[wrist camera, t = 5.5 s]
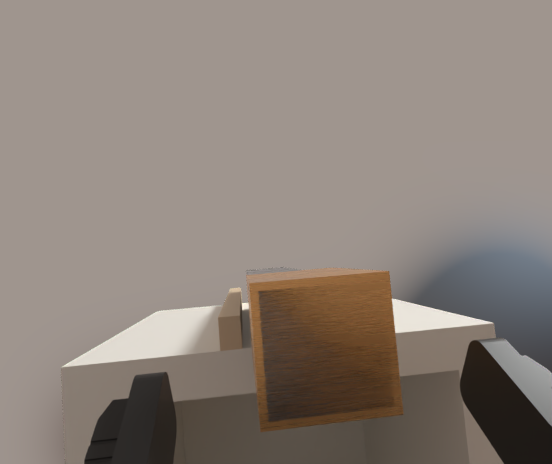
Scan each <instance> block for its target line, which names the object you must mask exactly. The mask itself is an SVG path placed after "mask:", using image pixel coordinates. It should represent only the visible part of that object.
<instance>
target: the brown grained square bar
mask: <svg viewBox="0 0 552 464" xmlns="http://www.w3.org/2000/svg"><path fill="white" fill-rule="evenodd" d="M246 277H247V291H248V304H249V317H250V331H251V344H252V357H253V368H254V377H255V387H256V396H257V405H258V414H259V423H260V432H266V431H275V430H283V429H291V428H299V427H308V426H316V425H324V424H332V423H340V422H349V421H357V420H365V419H373V418H381V417H390V416H398V415H404V414H403V404H402V394H401V384H400V374H399V364H398V354H397V345H396V335H395V325H394V315H393V305H392V295H391V286H390V275H389V271H379V270H363V269H346V268H324V269H312V270H298V269H291V268H283V267H281V268H269V269H257V270H247V275H246Z"/></svg>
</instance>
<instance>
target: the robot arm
mask: <svg viewBox="0 0 552 464" xmlns="http://www.w3.org/2000/svg"><path fill="white" fill-rule="evenodd" d="M460 392H461V396H462V399H463V401H464V403H465V405H466V407H467V408H468V410H469V411H470V413H471V414H472V416H473V418H474V419H475V421H476V422H477V424H478V425H479V427H480V428H481V430H482V431H483V433H484V434H485V436H486V437H487V439H488V440H489V442H490V443H491V445H492V446H493V448H494V449H495V451H496V452H497V454H498V456H499V457H500V459H501V460H502V462H503V463H504V464H552V373H551V372H550V371H549V370H548V369H546V368H545V367H543V366H542V365H540V364H539V363H537V362H536V361H534V360H532V359H531V358H529V357H528V356H526V355H524V356H521V355H520V354H519V353H518V352H517V351H516V350H515V349H514V348H513V347H512V346H511V345H510V343H509V342H508V341H506V340H505V339H503V338H490V339H480V340H473V341H471V342H470V344H469V346H468V350H467V354H466V358H465V362H464V366H463V370H462V375H461V379H460ZM176 432H177V424H176V413H175V407H174V402H173V397H172V392H171V387H170V382H169V377H168V374H167V372H158V373H149V374H139V375H135V377H134V379H133V382H132V386H131V390H130V393H129V397H128V398H126V399H117V400H112V402H111V403H110V404H109V406H108V407H107V408H106V409H105V411H104V412H103V413H102V415H101V416H100V417H99V418H98V420H97V423H96V426H95V429H94V432H93V435H92V438H91V441H90V442H91V444H90V446H89V447H88V450H87V453H86V456H85V459H84V464H173V461H174V452H175V444H176Z"/></svg>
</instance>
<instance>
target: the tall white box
mask: <svg viewBox="0 0 552 464" xmlns="http://www.w3.org/2000/svg"><path fill="white" fill-rule="evenodd" d="M392 305H393V315H394V325H395V335H396V345H397V354H398V364H399V374H400V384H401V394H402V404H403V414H404V415H398V416H390V417H381V418H373V419H365V420H357V421H349V422H340V423H332V424H324V425H316V426H308V427H299V428H291V429H283V430H275V431H266V432H260V423H259V414H258V405H257V396H256V387H255V377H254V368H253V357H252V344H251V331H250V317H249V304H248V303H242V296H241V288H231V289H230V291H229V293H228V295H227V298H226V300H225V302H224V305H219V306H209V307H197V308H186V309H175V310H164V311H157V312H156V313H154V314H152V315H150V316H149V317H147V318H145V319H143V320H142V321H140V322H138V323H136V324H135V325H133V326H131V327H130V328H128V329H126V330H124V331H123V332H121V333H119V334H117V335H116V336H114V337H112V338H111V339H109V340H107V341H105V342H104V343H102V344H100V345H98V346H97V347H95V348H93V349H92V350H90V351H88V352H87V353H85V354H83V355H81V356H80V357H78V358H76V359H74V360H73V361H71V362H69V363H67V364H66V365H64V366H62V367H61V381H62V404H63V427H64V450H65V464H84V459H85V456H86V453H87V450H88V447H89V446H90V444H91V442H90V441H91V438H92V435H93V432H94V429H95V426H96V423H97V420H98V418H99V417H100V416H101V415H102V413H103V412H104V411H105V409H106V408H107V407H108V406H109V404H110V403H111V402H112V400H117V399H126V398H128V397H129V393H130V390H131V386H132V382H133V379H134V377H135V375H139V374H149V373H158V372H167V374H168V377H169V382H170V387H171V392H172V397H173V402H174V407H175V413H176V424H177V432H176V444H175V452H174V461H173V464H504V463H503V462H502V460H501V459H500V457H499V456H498V454H497V452H496V451H495V449H494V448H493V446H492V445H491V443H490V442H489V440H488V439H487V437H486V436H485V434H484V433H483V431H482V430H481V428H480V427H479V425H478V424H477V422H476V421H475V419H474V418H473V416H472V414H471V413H470V411H469V410H468V408H467V407H466V405H465V403H464V401H463V399H462V396H461V392H460V379H461V375H462V370H463V366H464V362H465V358H466V354H467V350H468V346H469V344H470V342H471V341H473V340H480V339H490V338H496V337H495V328H494V323H491V322H487V321H483V320H479V319H475V318H471V317H466V316H462V315H458V314H454V313H450V312H446V311H441V310H437V309H433V308H429V307H424V306H421V305H417V304H413V303H408V302H404V301H400V300H395V299H392Z"/></svg>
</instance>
